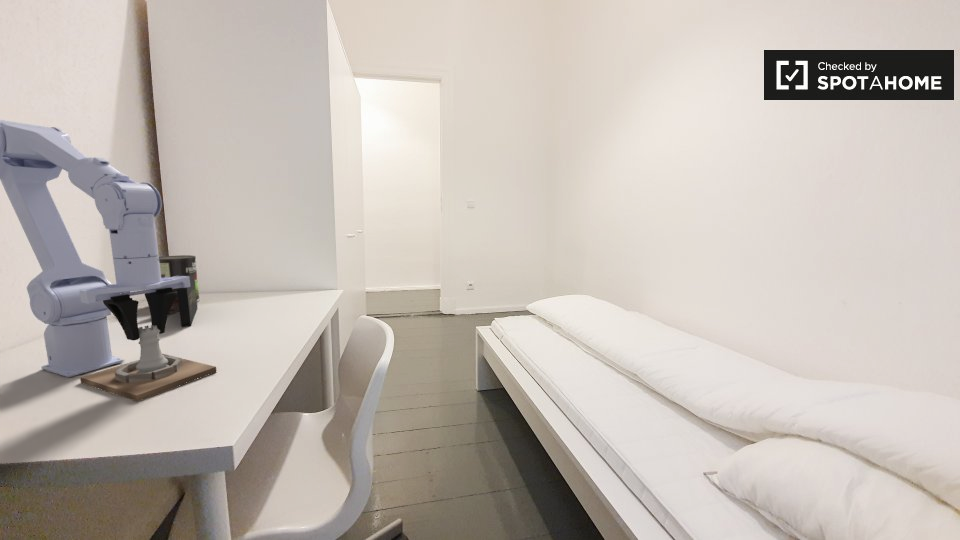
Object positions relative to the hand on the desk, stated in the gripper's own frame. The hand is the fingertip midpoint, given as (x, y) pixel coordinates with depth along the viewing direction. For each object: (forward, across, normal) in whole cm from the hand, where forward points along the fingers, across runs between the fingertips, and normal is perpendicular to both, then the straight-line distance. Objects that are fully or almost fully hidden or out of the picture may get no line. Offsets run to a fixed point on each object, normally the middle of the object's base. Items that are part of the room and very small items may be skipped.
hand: (146, 335), depth 67 cm
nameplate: (+8, +27, +34) cm, 44 cm away
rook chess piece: (+7, 0, -1) cm, 7 cm away
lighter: (+8, +28, +43) cm, 52 cm away
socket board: (+8, 0, 0) cm, 8 cm away
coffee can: (+8, +36, +54) cm, 65 cm away
